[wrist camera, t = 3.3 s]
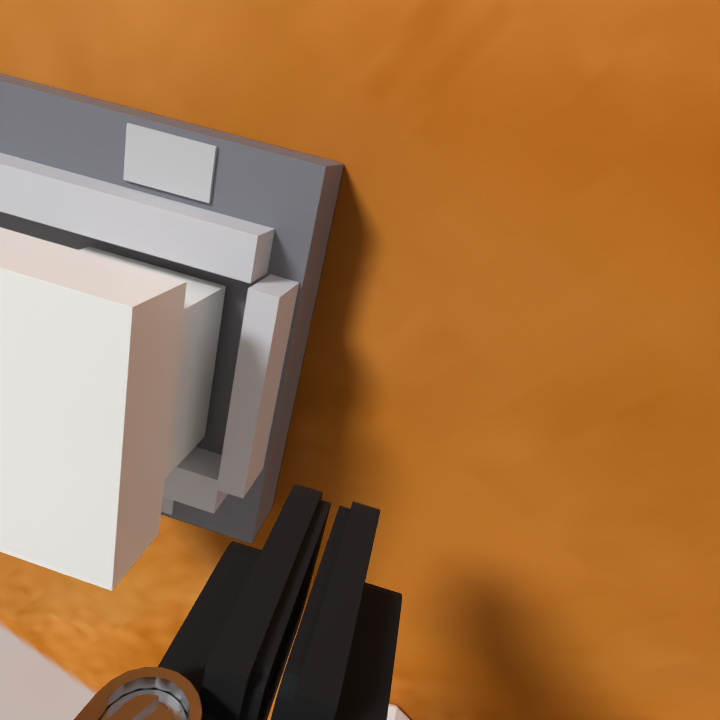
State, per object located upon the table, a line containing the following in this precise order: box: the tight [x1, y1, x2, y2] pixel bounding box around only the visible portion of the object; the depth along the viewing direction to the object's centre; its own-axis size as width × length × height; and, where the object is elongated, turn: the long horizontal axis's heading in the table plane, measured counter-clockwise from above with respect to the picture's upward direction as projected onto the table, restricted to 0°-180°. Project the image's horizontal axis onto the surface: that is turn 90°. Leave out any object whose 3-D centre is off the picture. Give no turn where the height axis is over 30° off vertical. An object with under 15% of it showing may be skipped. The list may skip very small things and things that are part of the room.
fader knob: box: [0, 227, 226, 591], centre depth 14 cm, size 5×7×5 cm
